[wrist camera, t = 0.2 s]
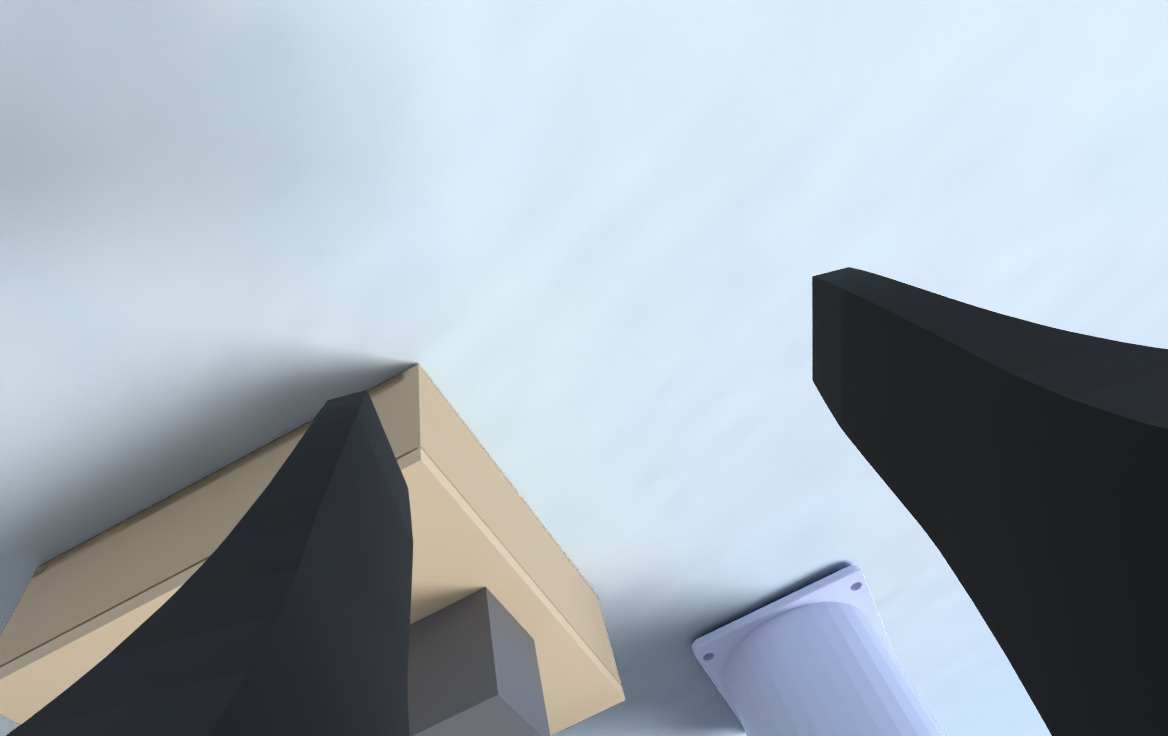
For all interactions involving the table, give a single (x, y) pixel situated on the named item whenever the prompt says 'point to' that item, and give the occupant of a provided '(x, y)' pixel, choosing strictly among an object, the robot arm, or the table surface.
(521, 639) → the sliding lid
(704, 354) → the table surface
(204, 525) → the carton
